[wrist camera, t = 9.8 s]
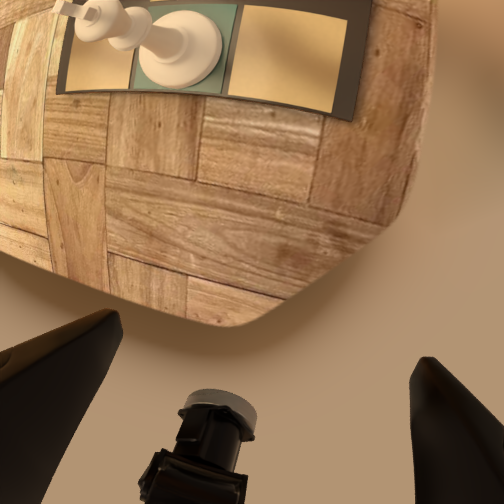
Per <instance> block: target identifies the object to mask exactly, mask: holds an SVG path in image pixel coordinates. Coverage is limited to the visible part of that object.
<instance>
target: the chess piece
mask: <svg viewBox="0 0 504 504" xmlns="http://www.w3.org/2000/svg"><path fill="white" fill-rule="evenodd" d="M51 12H54V13H57V14H61V15H66V16H71V17H75V18H76V20H75V33H76V35H77V37H78V38H79V39H80V40H82V41H84V42H96V41H101V40H103V39H107V38H108V41H109V43H110V44H111V45H112V46H113V47H114V48H115V49H116V50H119V51H129V50H132V49H135V48H136V47H138V46H139V45H140V48H139V61H140V65H141V68H142V70H143V72H144V73H145V75H146V76H147V77H148V78H149V79H150V80H152V81H153V82H155V83H157V84H159V85H161V86H163V87H167V88H174V89H177V88H185V87H188V86H191V85H194V84H196V83H198V82H199V81H201V80H202V79H204V78H205V77H206V76H207V75H208V74H209V73H210V72H211V71H212V70H213V69H214V67H215V66H216V64H217V62H218V60H219V58H220V55H221V50H222V37H221V33H220V31H219V29H218V27H217V25H216V24H215V23H214V22H213V21H212V20H211V19H210V18H208V17H207V16H205V15H203V14H200V13H198V12H194V11H189V10H182V11H175V12H172V13H169V14H167V15H164V16H163V17H161V18H159V19H158V20H157V21H155V22H154V23H153V24H152V17H151V15H150V13H149V12H148V10H146V9H145V8H142V7H129V8H126V9H124V8H123V6H122V4H121V3H120V1H119V0H88V1H87V2H86V3H85V4H84V5H83V6H82V5H77V4H73V3H70V2H66V1H61V0H57V1H56V3H55V5H54V7H53V9H52V11H51Z"/></svg>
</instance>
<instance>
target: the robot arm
mask: <svg viewBox="0 0 504 504" xmlns="http://www.w3.org/2000/svg"><path fill="white" fill-rule="evenodd" d="M122 337H123V329H122V324H121V320H120V315H119V313H118V311H116V310H114V309H110V308H104V309H102V310H99V311H97V312H95V313H92V314H90V315H88V316H85V317H83V318H80V319H78V320H75V321H73V322H71V323H68V324H66V325H64V326H61V327H59V328H56V329H54V330H52V331H49V332H47V333H44V334H42V335H40V336H37V337H35V338H33V339H30V340H28V341H25V342H23V343H21V344H18V345H16V346H14V347H11V348H9V349H6V350H4V351H1V352H0V504H41V502H42V500H43V497H44V495H45V493H46V491H47V489H48V486H49V484H50V482H51V480H52V477H53V475H54V473H55V471H56V469H57V467H58V465H59V463H60V461H61V459H62V457H63V455H64V453H65V451H66V449H67V447H68V445H69V443H70V441H71V439H72V437H73V435H74V433H75V431H76V430H77V428H78V426H79V424H80V422H81V420H82V418H83V416H84V414H85V413H86V411H87V409H88V407H89V405H90V403H91V402H92V400H93V398H94V396H95V394H96V392H97V391H98V389H99V387H100V385H101V384H102V381H103V380H104V378H105V376H106V374H107V372H108V370H109V367H110V365H111V363H112V360H113V358H114V356H115V353H116V351H117V349H118V347H119V345H120V342H121V340H122ZM409 389H410V429H411V440H412V450H413V463H414V480H415V504H504V426H503V425H502V424H501V423H500V422H499V421H498V420H497V419H496V417H495V416H494V415H493V414H492V413H491V412H490V411H489V410H488V409H487V408H486V407H485V406H484V405H483V404H482V403H481V402H480V401H479V400H478V399H477V398H476V397H475V396H474V395H473V394H472V393H471V392H470V391H469V390H468V389H467V388H466V387H465V386H464V385H463V384H462V383H461V382H460V381H459V380H457V378H456V377H454V376H453V375H452V374H451V373H450V372H449V371H448V370H447V369H446V368H445V367H444V366H443V365H442V364H441V363H440V362H439V361H438V360H437V359H436V358H434V357H422V358H420V360H419V361H418V363H417V365H416V367H415V369H414V371H413V373H412V375H411V377H410V382H409ZM178 415H179V416H180V417H181V418H182V419H183V422H182V425H181V427H180V430H179V432H178V434H177V437H176V441H177V443H176V445H175V447H174V450H173V452H169V451H167V450H166V449H164V448H162V449H161V451H160V452H155V454H154V456H153V458H152V460H151V462H150V464H149V466H148V467H147V469H146V471H145V472H144V474H143V475H142V476H141V478H140V479H139V481H138V485H139V487H140V489H141V491H140V494H141V495H140V500H141V501H144V502H145V504H244V502H245V495H246V488H247V480H248V475H245V474H238V473H234V470H235V466H236V462H237V458H238V454H239V451H240V447H241V443H242V442H248V441H254V439H255V436H254V435H253V433H252V432H251V431H250V430H249V429H248V428H247V427H246V425H245V424H244V423H243V422H242V421H241V419H240V418H239V417H238V416H237V415H236V414H235V412H234V411H233V410H232V409H231V408H230V407H229V406H227V405H222V406H213V407H203V408H191V409H180V410H179V411H178Z"/></svg>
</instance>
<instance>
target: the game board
mask: <svg viewBox="0 0 504 504" xmlns="http://www.w3.org/2000/svg"><path fill="white" fill-rule="evenodd" d="M87 1H88V0H73V2H72V3H73V4H77V5H82V6H83V5H84V4H85V3H86V2H87ZM119 1H120V3H121V4H122V6H123V8H124V9H126V8H129V7H142V8H145V9H146V10H148V12H149V13H150V15H151V17H152V24H153V23H154V22H155V21H157V20H158V19H159V18H161V17H163V16H164V15H167V14H169V13H172V12H175V11H182V10H189V11H194V12H198V13H200V14H203V15H205V16H207V17H208V18H210V19H211V20H212V21H213V22H214V23H215V24H216V25H217V27H218V29H219V31H220V33H221V37H222V50H221V55H220V58H219V60H218V62H217V64H216V66H215V67H214V69H213V70H212V71H211V72H210V73H209V74H208V75H207V76H206V77H205V78H204V79H202V80H201V81H199V82H198V83H196V84H194V85H191V86H188V87H185V88H177V89H174V88H167V87H163V86H161V85H159V84H157V83H155V82H153V81H152V80H150V79H149V78H148V77H147V76H146V75H145V73H144V72H143V70H142V68H141V65H140V61H139V48H140V45H139V46H138V47H136V48H135V49H132V50H129V51H119V50H116V49H115V48H114V47H113V46H112V45H111V44H110V43H109V41H108V38H107V39H103V40H101V41H96V42H84V41H82V40H80V39H79V38H78V37H77V35H76V33H75V20H76V18H75V17H71V16H69V17H68V22H67V26H66V31H65V35H64V40H63V46H62V51H61V57H60V63H59V70H58V78H57V86H56V95H63V94H79V93H103V92H145V93H170V94H185V95H198V96H208V97H218V98H227V99H235V100H242V101H249V102H256V103H262V104H268V105H274V106H280V107H285V108H290V109H295V110H300V111H305V112H310V113H314V114H319V115H323V116H328V117H332V118H336V119H340V120H344V121H348V122H352V119H353V114H354V109H355V104H356V99H357V94H358V89H359V83H360V78H361V72H362V66H363V60H364V54H365V48H366V41H367V35H368V28H369V21H370V13H371V5H372V0H119Z"/></svg>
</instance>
